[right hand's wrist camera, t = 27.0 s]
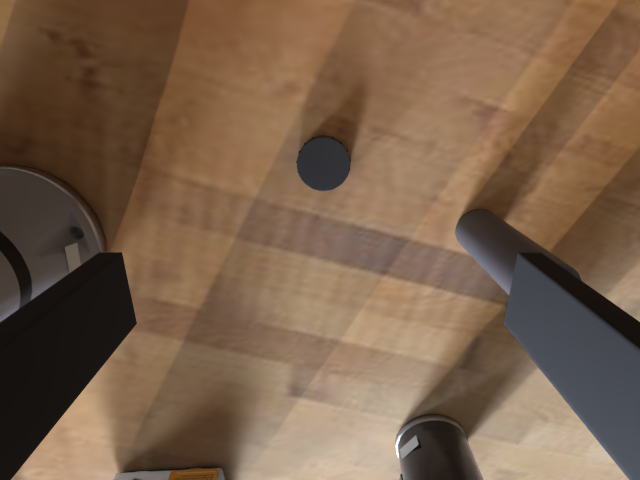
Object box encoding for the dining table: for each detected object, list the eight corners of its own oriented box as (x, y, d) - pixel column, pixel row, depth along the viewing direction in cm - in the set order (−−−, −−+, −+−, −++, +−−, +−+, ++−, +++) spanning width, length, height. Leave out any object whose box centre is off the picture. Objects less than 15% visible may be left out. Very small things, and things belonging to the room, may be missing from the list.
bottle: (454, 212, 39) (530, 278, 25) (497, 205, 39) (598, 268, 25) (456, 251, 40) (527, 333, 26) (497, 245, 40) (592, 324, 26)
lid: (359, 169, 37) (361, 172, 36) (316, 197, 38) (316, 201, 37) (331, 124, 36) (331, 125, 34) (286, 154, 37) (285, 157, 35)
